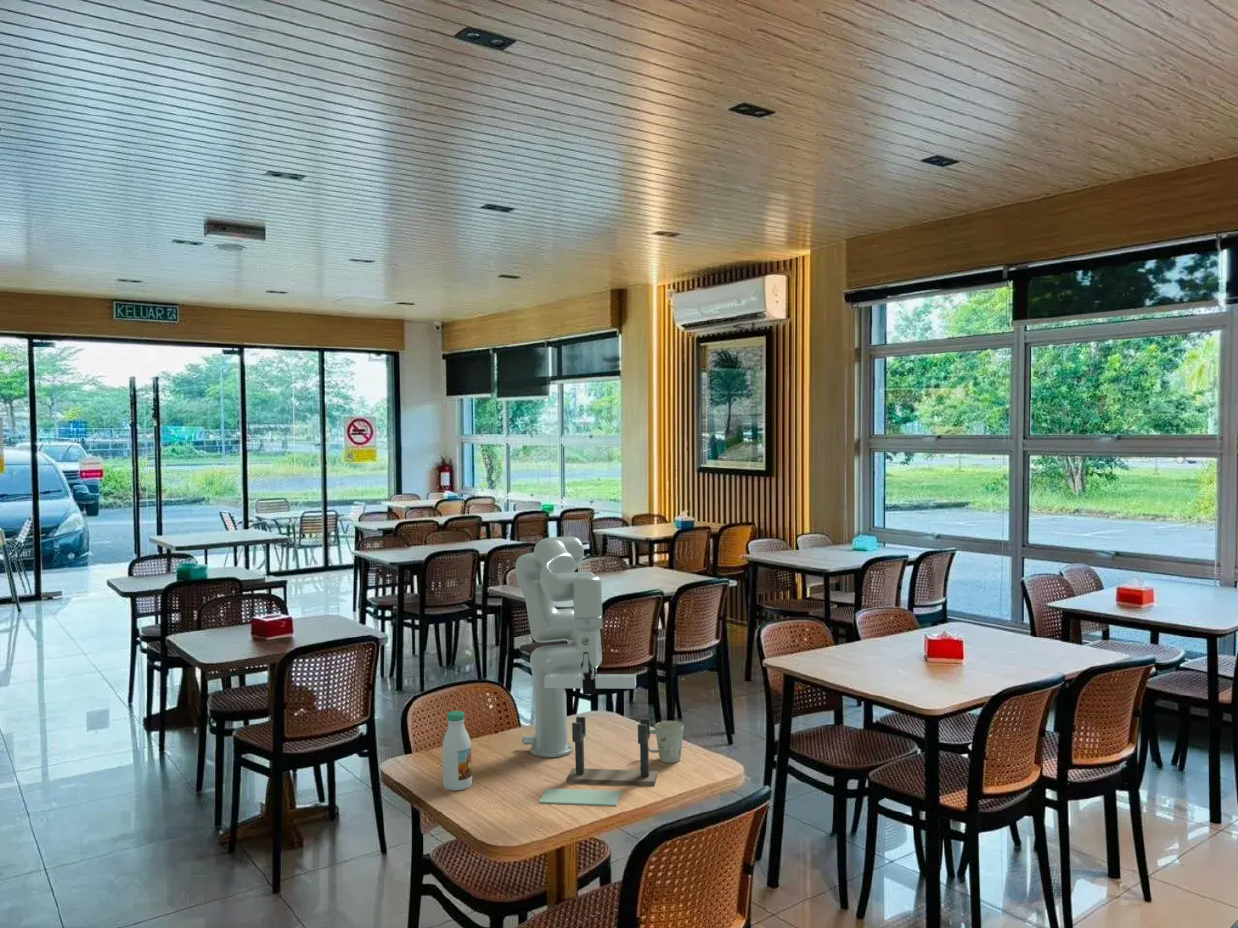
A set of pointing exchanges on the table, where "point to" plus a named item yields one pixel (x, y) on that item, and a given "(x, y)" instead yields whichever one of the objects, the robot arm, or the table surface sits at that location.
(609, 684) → the rail
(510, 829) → the table surface
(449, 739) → the milk bottle
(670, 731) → the mug
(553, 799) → the mat
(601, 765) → the table surface
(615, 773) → the hook stand
